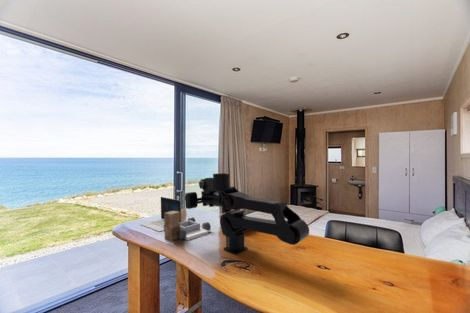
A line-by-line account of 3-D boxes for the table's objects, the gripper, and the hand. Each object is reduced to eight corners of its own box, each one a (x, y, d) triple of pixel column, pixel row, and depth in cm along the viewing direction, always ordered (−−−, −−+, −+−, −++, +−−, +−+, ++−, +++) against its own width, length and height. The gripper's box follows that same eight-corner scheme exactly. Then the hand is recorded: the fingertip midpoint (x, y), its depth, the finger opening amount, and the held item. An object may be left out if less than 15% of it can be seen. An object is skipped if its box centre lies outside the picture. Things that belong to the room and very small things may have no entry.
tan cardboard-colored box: (180, 237, 95) (179, 211, 95) (171, 240, 92) (171, 214, 92) (172, 235, 98) (172, 210, 98) (164, 238, 94) (164, 212, 94)
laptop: (140, 225, 114) (139, 200, 114) (161, 220, 124) (161, 196, 124) (159, 233, 102) (158, 204, 102) (181, 226, 112) (181, 200, 112)
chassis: (212, 232, 101) (211, 223, 101) (183, 241, 90) (183, 231, 90) (189, 224, 114) (189, 216, 114) (162, 231, 103) (162, 222, 103)
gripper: (232, 177, 96) (209, 177, 106) (197, 180, 82) (174, 180, 93) (233, 203, 95) (210, 201, 106) (198, 210, 82) (175, 207, 92)
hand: (193, 197), depth 99 cm, fingers open, 9 cm apart
